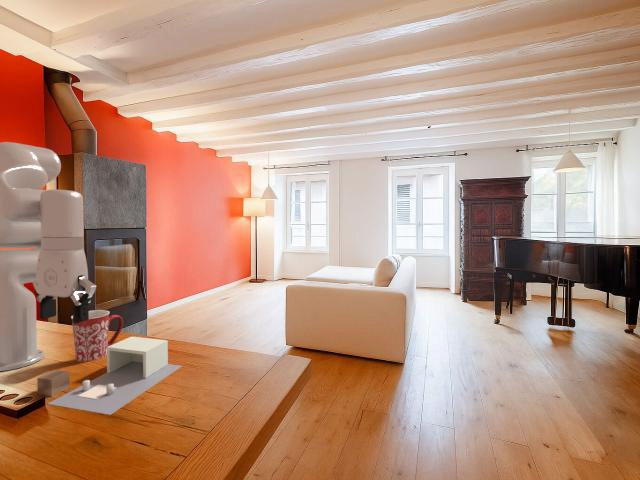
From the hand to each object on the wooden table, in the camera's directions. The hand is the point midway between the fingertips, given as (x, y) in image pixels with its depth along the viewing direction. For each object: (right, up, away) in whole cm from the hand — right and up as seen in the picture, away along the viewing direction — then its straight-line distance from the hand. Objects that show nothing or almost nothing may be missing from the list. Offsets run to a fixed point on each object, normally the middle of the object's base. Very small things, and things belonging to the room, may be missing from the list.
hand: (64, 319), depth 72 cm
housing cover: (+10, -16, +12) cm, 22 cm away
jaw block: (-2, -18, 0) cm, 18 cm away
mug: (-6, -17, +20) cm, 27 cm away
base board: (+11, -18, +4) cm, 21 cm away
